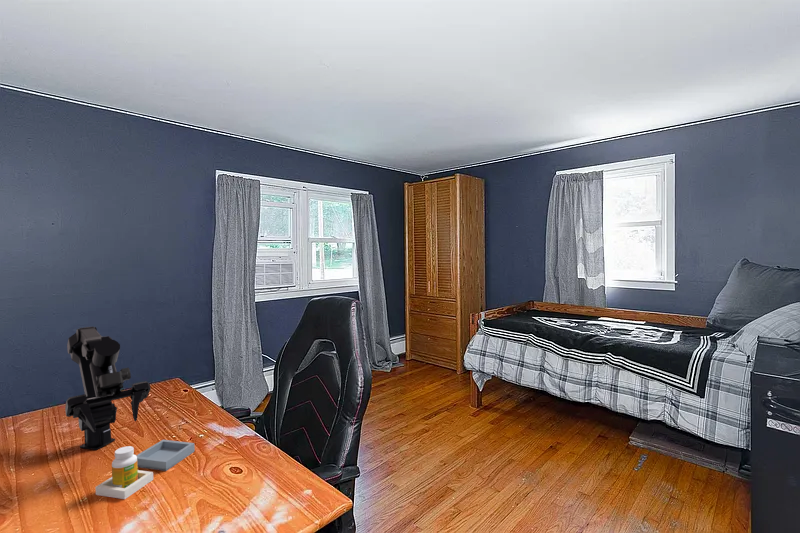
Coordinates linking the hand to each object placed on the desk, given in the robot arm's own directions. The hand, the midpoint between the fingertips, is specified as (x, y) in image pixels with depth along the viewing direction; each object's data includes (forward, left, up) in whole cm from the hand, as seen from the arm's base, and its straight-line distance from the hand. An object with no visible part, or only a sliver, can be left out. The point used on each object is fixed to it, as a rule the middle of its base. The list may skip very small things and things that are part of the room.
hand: (115, 425), depth 108 cm
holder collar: (+7, -4, -13) cm, 16 cm away
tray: (+6, +10, -13) cm, 18 cm away
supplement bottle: (+7, -4, -14) cm, 16 cm away
